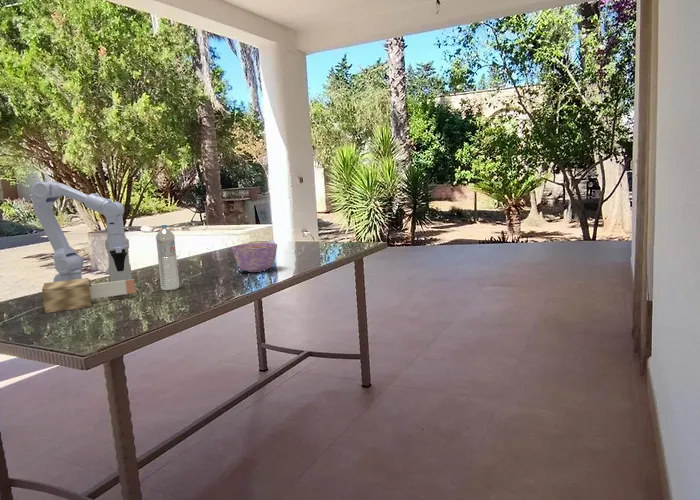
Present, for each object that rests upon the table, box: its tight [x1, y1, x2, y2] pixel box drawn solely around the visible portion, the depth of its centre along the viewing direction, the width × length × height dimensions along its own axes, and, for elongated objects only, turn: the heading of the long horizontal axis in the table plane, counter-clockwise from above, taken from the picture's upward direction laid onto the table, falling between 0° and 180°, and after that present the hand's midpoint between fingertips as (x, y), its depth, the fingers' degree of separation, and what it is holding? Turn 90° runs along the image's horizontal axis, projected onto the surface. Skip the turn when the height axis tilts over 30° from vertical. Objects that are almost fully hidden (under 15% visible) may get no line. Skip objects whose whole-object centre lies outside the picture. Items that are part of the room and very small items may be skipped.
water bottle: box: [155, 224, 180, 291], centre depth 202 cm, size 7×7×25 cm
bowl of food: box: [231, 242, 278, 273], centre depth 233 cm, size 20×20×12 cm
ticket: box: [89, 278, 137, 300], centre depth 188 cm, size 19×1×5 cm, turn 117°
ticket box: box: [41, 277, 93, 314], centre depth 183 cm, size 15×14×8 cm
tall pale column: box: [104, 231, 133, 282], centre depth 223 cm, size 11×4×22 cm, turn 86°
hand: (119, 269), depth 198 cm, fingers open, 7 cm apart
